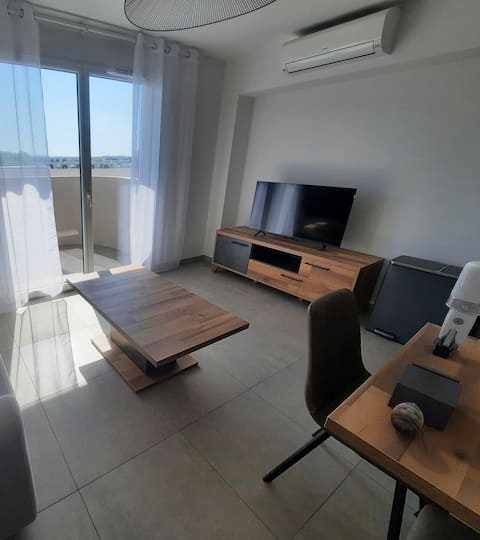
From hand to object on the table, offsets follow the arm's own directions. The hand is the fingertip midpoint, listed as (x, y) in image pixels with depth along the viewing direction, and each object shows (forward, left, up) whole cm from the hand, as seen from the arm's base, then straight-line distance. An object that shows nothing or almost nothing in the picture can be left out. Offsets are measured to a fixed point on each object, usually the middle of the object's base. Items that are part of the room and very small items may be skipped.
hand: (439, 356), depth 89 cm
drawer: (-5, +11, -8) cm, 14 cm away
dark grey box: (-7, +17, -8) cm, 20 cm away
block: (+8, -21, -8) cm, 24 cm away
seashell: (-11, +30, -9) cm, 33 cm away
